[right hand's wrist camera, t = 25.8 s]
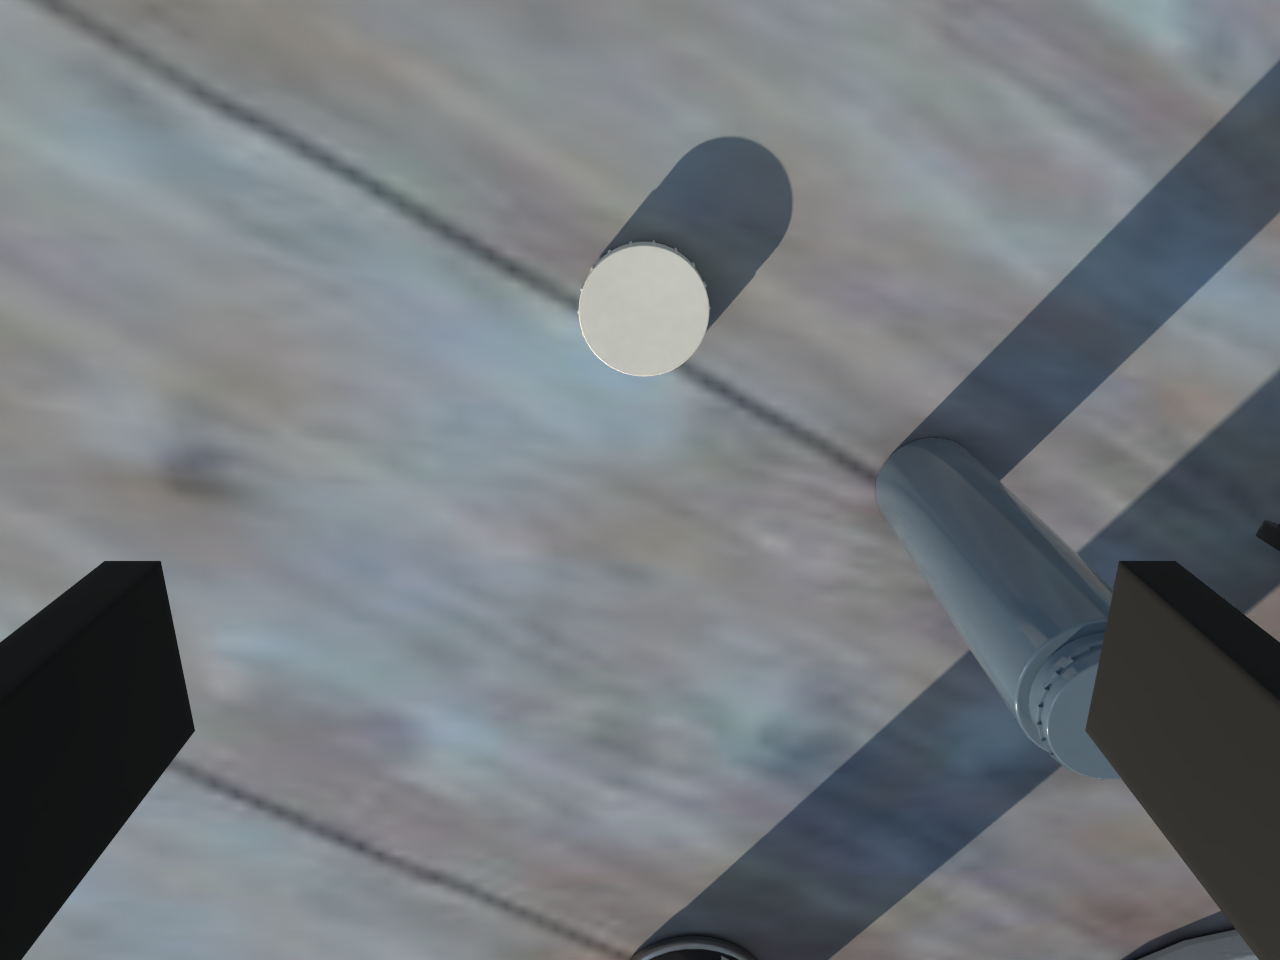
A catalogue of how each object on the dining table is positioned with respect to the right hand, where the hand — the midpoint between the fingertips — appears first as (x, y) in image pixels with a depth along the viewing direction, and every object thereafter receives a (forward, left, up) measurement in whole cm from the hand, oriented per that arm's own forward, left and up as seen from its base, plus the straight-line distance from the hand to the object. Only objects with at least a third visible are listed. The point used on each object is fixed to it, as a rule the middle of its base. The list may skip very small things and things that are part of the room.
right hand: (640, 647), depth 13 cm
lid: (0, 0, -29) cm, 29 cm away
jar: (+8, +14, -30) cm, 34 cm away
